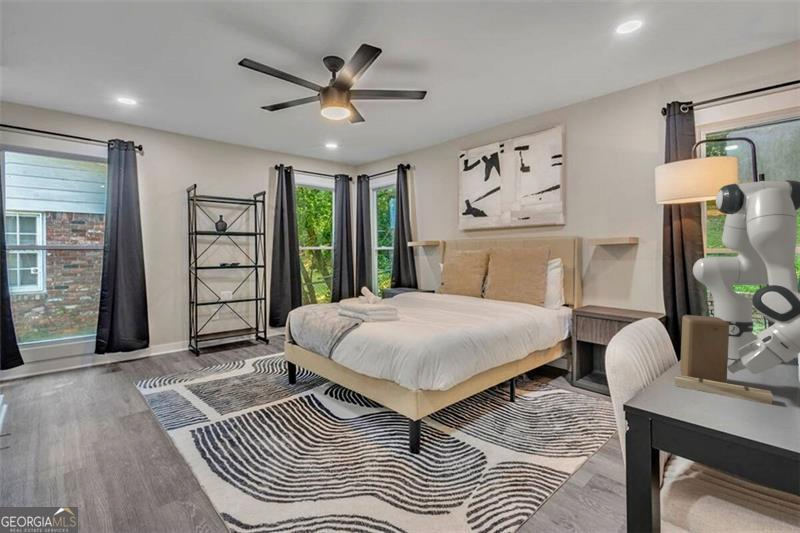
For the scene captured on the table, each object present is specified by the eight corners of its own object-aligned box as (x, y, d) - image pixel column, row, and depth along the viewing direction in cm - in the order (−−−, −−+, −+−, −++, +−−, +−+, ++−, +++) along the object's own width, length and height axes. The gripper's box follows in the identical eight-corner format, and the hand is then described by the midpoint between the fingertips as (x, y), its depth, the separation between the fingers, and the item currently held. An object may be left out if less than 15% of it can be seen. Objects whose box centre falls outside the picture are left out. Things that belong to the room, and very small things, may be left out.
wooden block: (727, 387, 111) (730, 322, 110) (686, 382, 115) (688, 319, 114) (717, 377, 120) (720, 316, 119) (679, 372, 124) (681, 314, 123)
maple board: (675, 382, 115) (676, 374, 115) (770, 399, 102) (770, 390, 102) (674, 385, 112) (675, 377, 112) (772, 404, 99) (772, 395, 99)
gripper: (761, 329, 115) (719, 354, 122) (771, 341, 99) (721, 369, 106) (781, 345, 112) (736, 370, 119) (794, 360, 97) (742, 388, 103)
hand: (729, 370), depth 112 cm, fingers closed
